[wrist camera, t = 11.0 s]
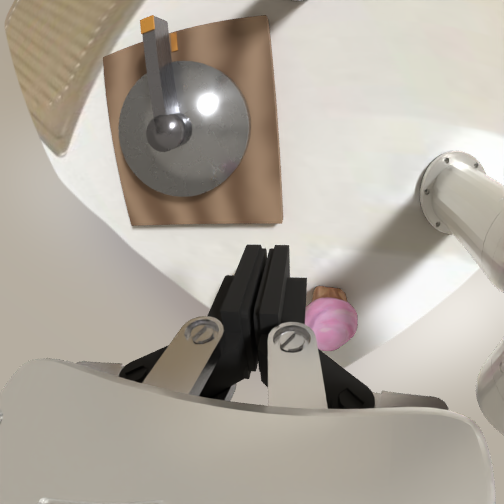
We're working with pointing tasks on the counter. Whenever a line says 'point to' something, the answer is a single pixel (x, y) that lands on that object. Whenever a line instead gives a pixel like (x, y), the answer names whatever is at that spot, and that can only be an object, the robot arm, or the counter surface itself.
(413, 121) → the counter surface
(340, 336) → the cupcake
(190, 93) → the dial
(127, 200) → the dial base
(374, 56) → the counter surface
